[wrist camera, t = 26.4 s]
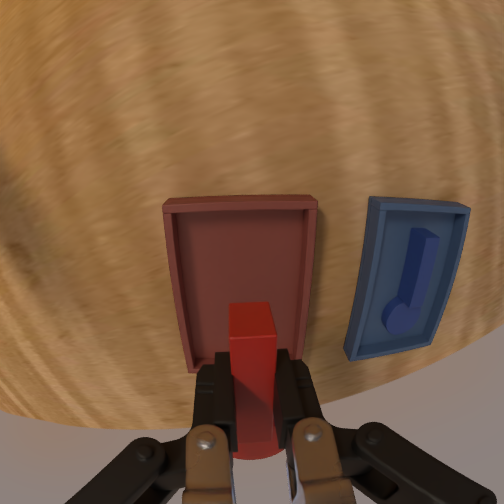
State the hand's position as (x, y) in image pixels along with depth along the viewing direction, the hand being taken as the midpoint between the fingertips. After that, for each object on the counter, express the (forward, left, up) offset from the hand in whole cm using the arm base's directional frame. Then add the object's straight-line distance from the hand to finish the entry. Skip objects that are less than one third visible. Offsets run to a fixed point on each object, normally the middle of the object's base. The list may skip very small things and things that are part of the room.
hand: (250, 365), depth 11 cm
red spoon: (+3, 0, -1) cm, 3 cm away
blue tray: (+3, +15, -11) cm, 19 cm away
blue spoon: (+3, +15, -11) cm, 19 cm away
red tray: (+3, 0, -11) cm, 12 cm away
